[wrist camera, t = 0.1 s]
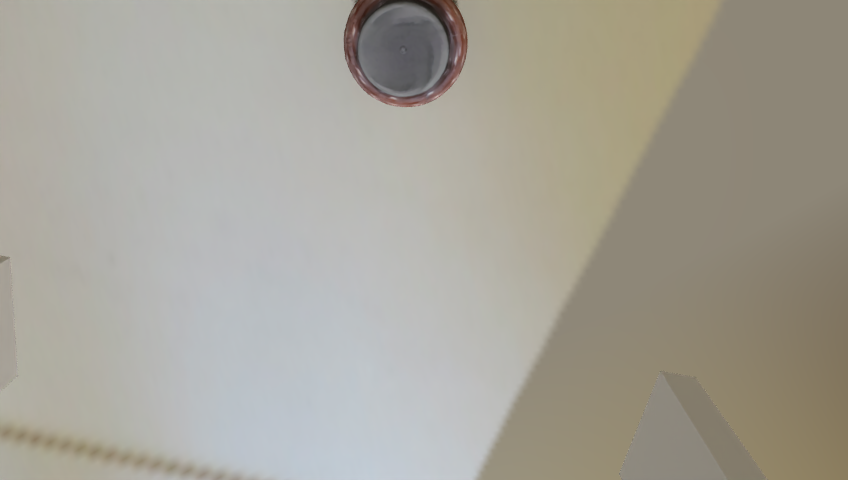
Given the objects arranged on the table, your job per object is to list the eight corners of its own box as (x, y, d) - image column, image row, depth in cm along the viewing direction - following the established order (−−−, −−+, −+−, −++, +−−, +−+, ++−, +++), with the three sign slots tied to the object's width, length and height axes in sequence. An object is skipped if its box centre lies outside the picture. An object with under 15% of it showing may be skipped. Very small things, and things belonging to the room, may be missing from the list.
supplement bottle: (344, 3, 36) (309, 6, 25) (438, -37, 35) (442, -52, 25) (384, 99, 38) (366, 137, 27) (473, 63, 37) (491, 88, 27)
